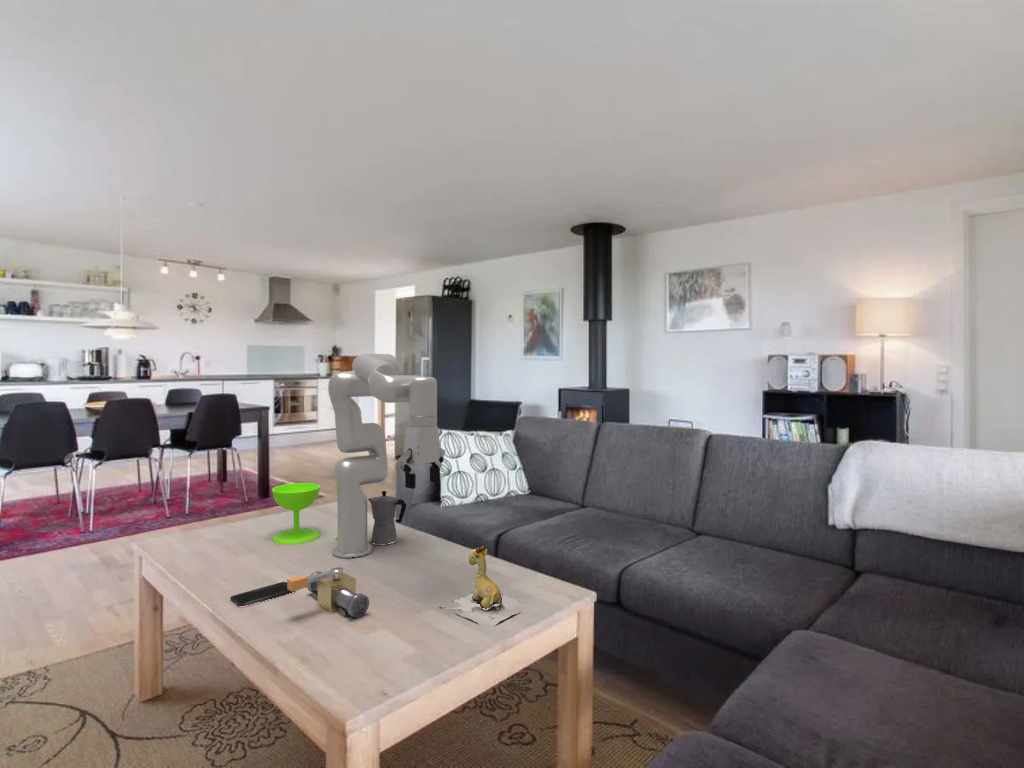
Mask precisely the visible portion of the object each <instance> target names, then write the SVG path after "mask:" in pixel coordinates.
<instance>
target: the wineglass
mask: <svg viewBox="0 0 1024 768" xmlns="http://www.w3.org/2000/svg"><path fill="white" fill-rule="evenodd" d="M320 489H321V486H320V484H316V483H312V482H311V483H309V482H307V483H306V482H304V483H303V482H300V483H299V482H298V483H297V482H296V483H295V482H294V483H287V484H286V483H285V484H282V485H277V486H274V487H272V490H271V492H272V497H273V499H274V502H275V503H277V505H278V506H279V507H280V508H282V509H284V510H287V511H292V512H293V528H292V529H289V530H284V531H280V532H279V533H277V534H275V535H274V536H273V537H272V542H273V541H274V542H276V543H275V544H277V543H279V544H278V545H282V544H296V545H299V544H298V543H303V544H306V543H305V542H308V543H310V542H309V541H311V542H313V541H312V540H314V539H316V540H318V539H319V538H320V537H321V534H320V532H319V531H317V530H315V529H310V528H300V511H301V510H304V509H306V508H308V507H310V506H311V505H312V504H314V502H315V501H316V500H317V498H318V496H319V494H320ZM319 536H320V537H319ZM318 537H319V538H318ZM317 538H318V539H317ZM314 541H315V540H314ZM274 542H273V543H274Z"/></svg>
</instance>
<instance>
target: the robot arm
mask: <svg viewBox="0 0 1024 768" xmlns="http://www.w3.org/2000/svg"><path fill="white" fill-rule="evenodd" d="M351 368H352V369H351V370H347V371H346V370H344V371H338V372H336V373H333V374H332V375H331V376H330V377H329V380H328V388H327V389H328V390H327V391H328V398H329V399H330V400H329V401H330V402H331V406H332V408H333V412H334V424H335V436H336V444H337V448H338V450H339V451H340V452H341V453H344V454H351V453H352V454H355V453H363V452H364V453H365V452H368V454H367V455H358V456H349V457H345V458H341V459H339V460H338V461H337V462H336V464H335V465H334V469H333V471H334V472H333V474H334V475H333V476H334V480H335V487H336V494H337V495H336V496H337V497H336V498H337V499H336V500H337V501H336V502H337V505H336V506H337V536H336V537H335V538H334V541H336V542H337V546H335V547H334V548H332V549H333V550H332V555H333V556H335V557H336V558H341V559H342V558H344V559H353V558H352V557H355V558H360V557H359V556H361V557H364V556H366V554H367V555H369V554H371V552H372V551H373V546H372V544H369V543H368V497H367V495H366V493H365V492H364V491H363V490H362V488H361V486H364V485H370V484H377V483H381V482H383V481H385V480H386V478H387V476H388V473H389V471H388V470H389V468H388V467H389V466H388V455H387V443H386V434H385V431H384V430H383V427H382V426H381V425H380V424H379V423H376V422H366V423H365V422H364V423H363V421H362V411H361V408H360V406H359V404H358V403H357V401H356V400H354V398H355V397H356V398H359V397H360V398H361V397H374V398H375V399H377V400H378V401H380V402H383V403H387V404H392V403H393V404H395V403H408V427H407V428H406V432H405V436H404V446H403V454H402V455H401V456H400V457H398V462H399V465H400V468H401V469H402V471H403V473H404V474H405V475H404V476H405V477H404V483H405V484H404V487H405V488H406V489H411V490H414V489H416V484H417V483H416V481H417V479H416V476H417V475H416V473H415V471H416V470H417V467H418V466H423V465H428V464H429V465H430V467H429V481H430V482H433V483H440V482H441V468H442V463H443V462H444V460H445V459H444V457H445V454H446V450H445V449H444V448H442V447H441V445H440V434H439V432H440V431H439V428H438V382H437V379H436V378H435V377H432V376H421V375H417V374H416V375H415V374H412V375H407V374H405V375H404V374H403V375H401V374H400V375H399V372H400V363H399V361H398V358H396V356H394V355H392V354H391V353H390V354H389V353H363V354H360V355H358V356H356V357H355V358H354V359H353V361H352V364H351Z"/></svg>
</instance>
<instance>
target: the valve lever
mask: <svg viewBox="0 0 1024 768" xmlns="http://www.w3.org/2000/svg"><path fill="white" fill-rule="evenodd" d="M343 573H344V568H343V567H340V566H337V567H331V568H330V569H329V570H327V571H323V573H319V574H316V575H312V576H310V575H308V576H306V575H304V574H300V575H296V576H294V577H289V578H287V579H286V582H287V589H289V590H290V591H292V592H293V591H296V592H297V591H299V590H303V589H306V588H307V587H308V583H311V582H315V581H318V580H322V579H325V578H329V577H332V576H340V575H342V574H343Z"/></svg>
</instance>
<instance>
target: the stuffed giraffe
mask: <svg viewBox="0 0 1024 768" xmlns="http://www.w3.org/2000/svg"><path fill="white" fill-rule="evenodd" d="M486 556H488V549H487V548H486V546H484V545H483V546H481V547H476V548H474V549H473V548H472V550H470V552H469V555H468V563H469V565H470V566H475V565H478V569H477V571H476V575H475V576H476V577H475V582H474V583H475V584H474V585H475V590H474V592H472V593H473V596H472V599H473V600H472V602H475V603H476V602H477V604H480V606H481V608H485V609H487V608H490V607H491V606H492V605H494V604H501V603H502V597H501V594H502V593H501V590H500V588H499V586H498V585H497V584H496V583H495V582H494V581H492V580H491V579H490V578H489V577H488V576H487V575H486V574H487V573H486V572H487V562H486ZM481 608H480V609H481Z"/></svg>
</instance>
